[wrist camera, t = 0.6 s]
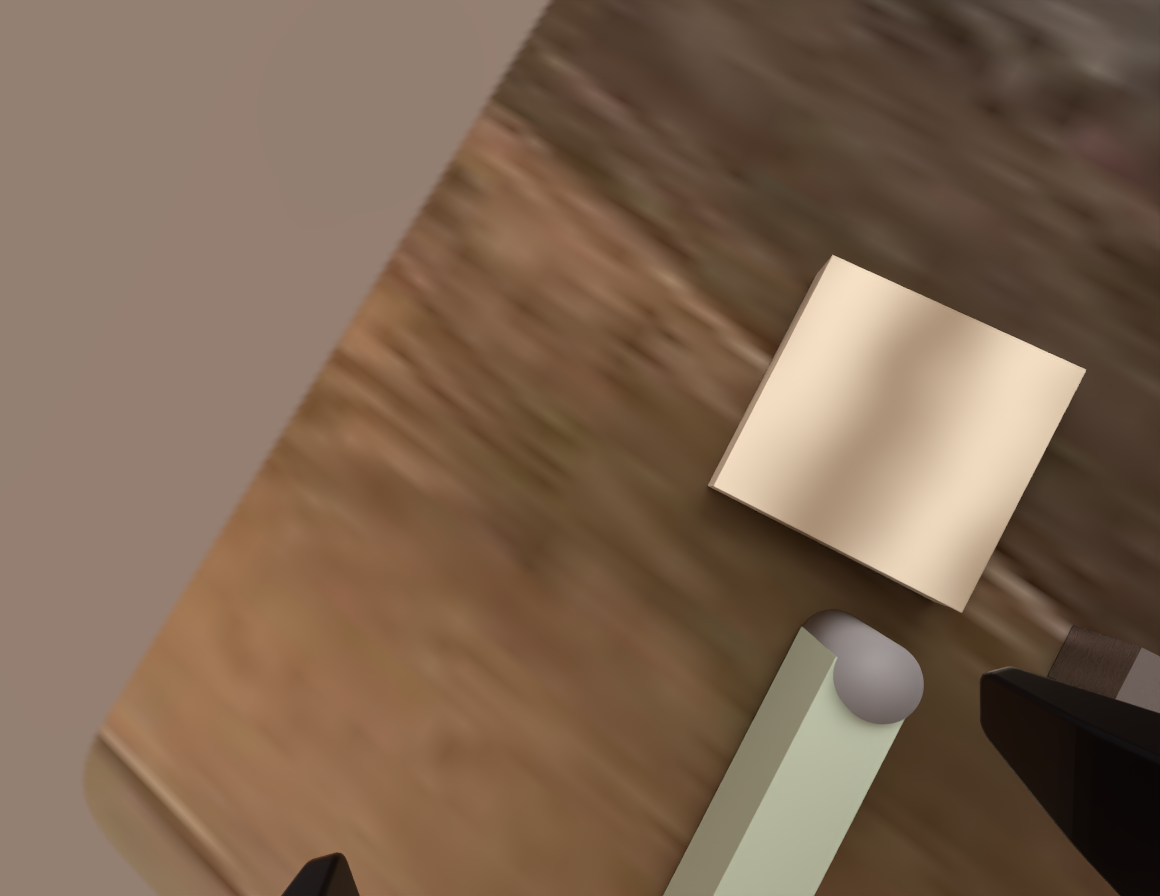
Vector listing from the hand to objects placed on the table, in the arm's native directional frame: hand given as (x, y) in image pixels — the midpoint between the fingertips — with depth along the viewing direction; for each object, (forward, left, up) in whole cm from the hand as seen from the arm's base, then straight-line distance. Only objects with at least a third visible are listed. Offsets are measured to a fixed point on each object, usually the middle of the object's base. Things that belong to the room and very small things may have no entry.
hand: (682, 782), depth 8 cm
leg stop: (-14, -5, -15) cm, 21 cm away
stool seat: (-4, -9, -15) cm, 18 cm away
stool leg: (-6, +4, -15) cm, 17 cm away
